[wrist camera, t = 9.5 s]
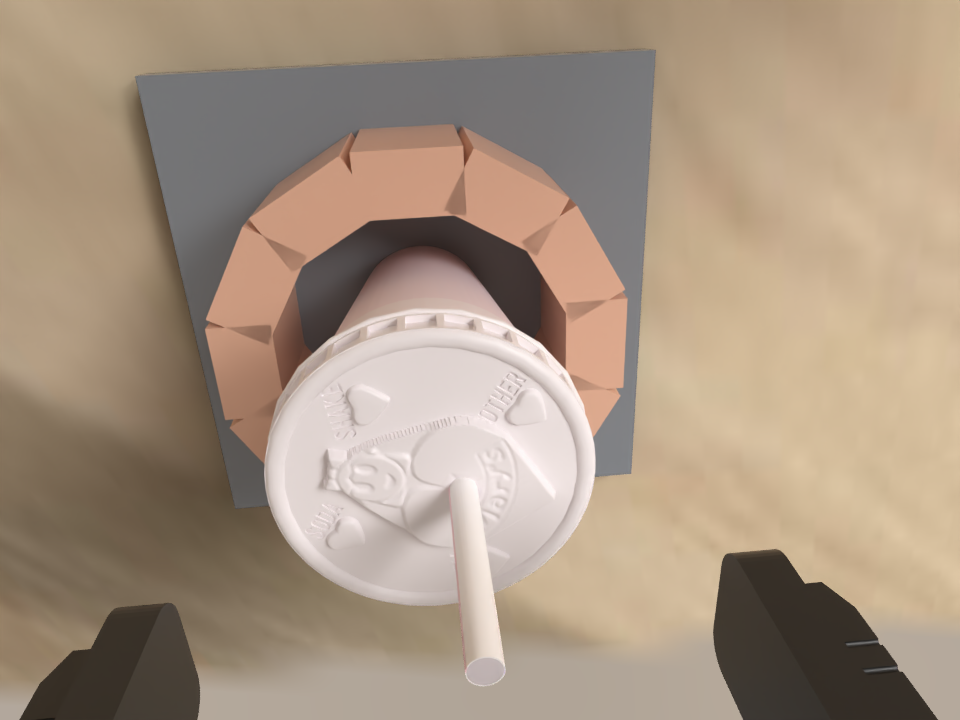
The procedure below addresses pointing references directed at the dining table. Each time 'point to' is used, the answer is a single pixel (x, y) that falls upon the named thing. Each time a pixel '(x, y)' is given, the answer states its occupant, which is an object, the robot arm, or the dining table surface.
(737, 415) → the dining table surface
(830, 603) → the robot arm
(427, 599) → the smoothie
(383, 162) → the collar
